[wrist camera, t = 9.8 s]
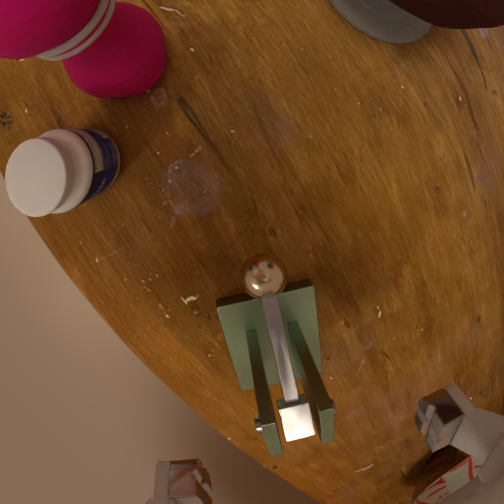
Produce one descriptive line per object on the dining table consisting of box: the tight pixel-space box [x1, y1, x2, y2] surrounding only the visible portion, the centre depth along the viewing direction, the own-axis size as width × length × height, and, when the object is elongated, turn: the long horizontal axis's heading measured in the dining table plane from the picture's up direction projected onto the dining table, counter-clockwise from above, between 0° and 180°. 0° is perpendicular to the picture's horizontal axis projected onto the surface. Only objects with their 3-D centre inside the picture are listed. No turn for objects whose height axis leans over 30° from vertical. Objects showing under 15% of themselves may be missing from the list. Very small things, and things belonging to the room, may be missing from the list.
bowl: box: [412, 444, 485, 504], centre depth 46 cm, size 25×25×8 cm
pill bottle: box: [5, 129, 120, 217], centre depth 19 cm, size 6×6×10 cm
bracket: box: [216, 279, 336, 457], centre depth 26 cm, size 11×9×13 cm
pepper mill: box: [0, 0, 166, 98], centre depth 12 cm, size 7×7×20 cm
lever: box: [240, 253, 315, 442], centre depth 22 cm, size 14×3×3 cm
